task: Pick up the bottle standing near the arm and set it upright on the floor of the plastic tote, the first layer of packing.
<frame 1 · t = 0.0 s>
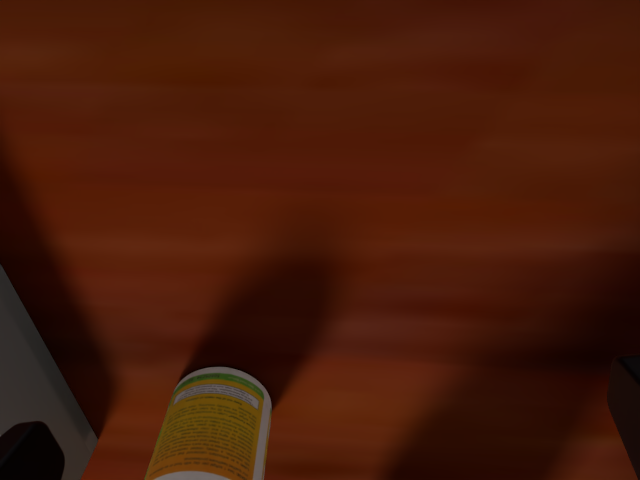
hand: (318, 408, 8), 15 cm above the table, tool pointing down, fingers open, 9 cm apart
supplement bottle: (223, 397, 29), on the table
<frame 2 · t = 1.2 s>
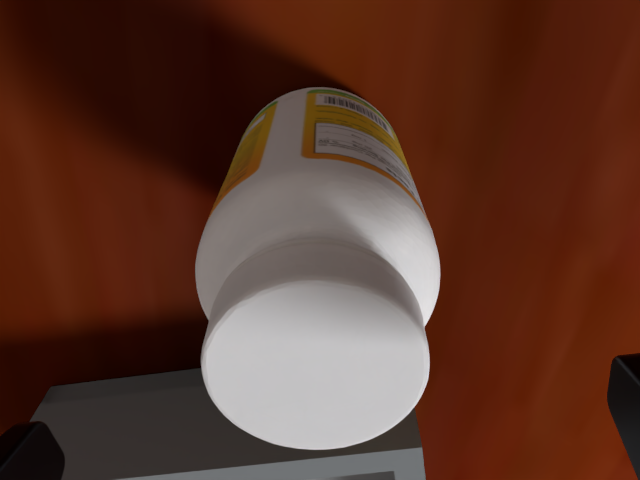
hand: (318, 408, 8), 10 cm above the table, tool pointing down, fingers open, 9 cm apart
supplement bottle: (319, 163, 18), on the table
tote: (258, 474, 25), on the table
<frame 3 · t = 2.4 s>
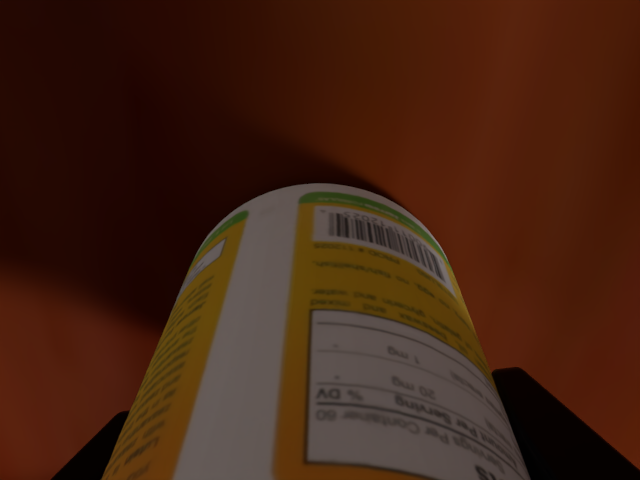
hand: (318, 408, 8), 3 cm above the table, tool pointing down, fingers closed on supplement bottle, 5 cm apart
supplement bottle: (321, 290, 11), on the table, touching gripper
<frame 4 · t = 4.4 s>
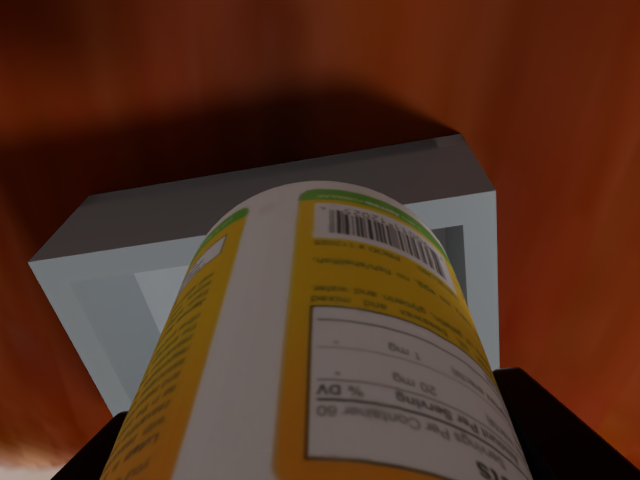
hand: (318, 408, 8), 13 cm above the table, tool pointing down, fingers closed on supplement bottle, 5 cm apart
supplement bottle: (321, 288, 11), point 10 cm above the table, touching gripper
tote: (303, 306, 24), on the table
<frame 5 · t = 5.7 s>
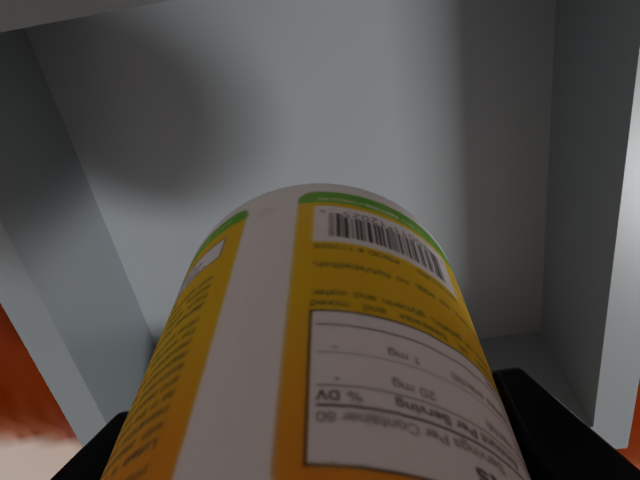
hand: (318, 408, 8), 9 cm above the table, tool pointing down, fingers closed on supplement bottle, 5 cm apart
supplement bottle: (320, 290, 11), point 6 cm above the table, touching gripper
tote: (320, 185, 16), on the table
when the fingers open (5 cm above the table, at t = 6.7 s): supplement bottle drops 1 cm, resting on tote.
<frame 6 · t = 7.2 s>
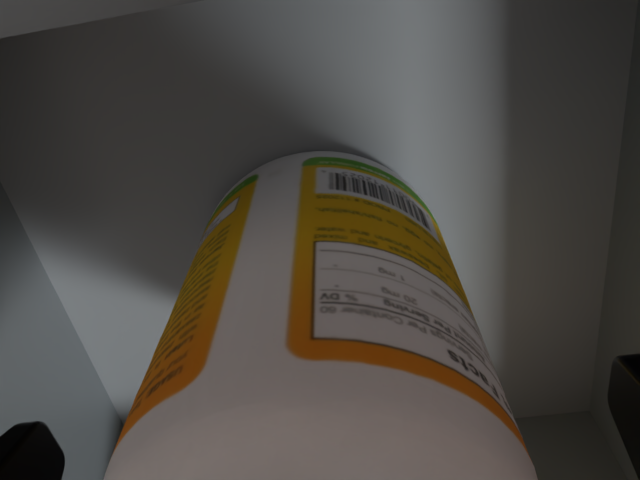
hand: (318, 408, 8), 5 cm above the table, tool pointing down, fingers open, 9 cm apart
supplement bottle: (322, 251, 12), point 1 cm above the table, touching tote
tote: (321, 238, 13), on the table
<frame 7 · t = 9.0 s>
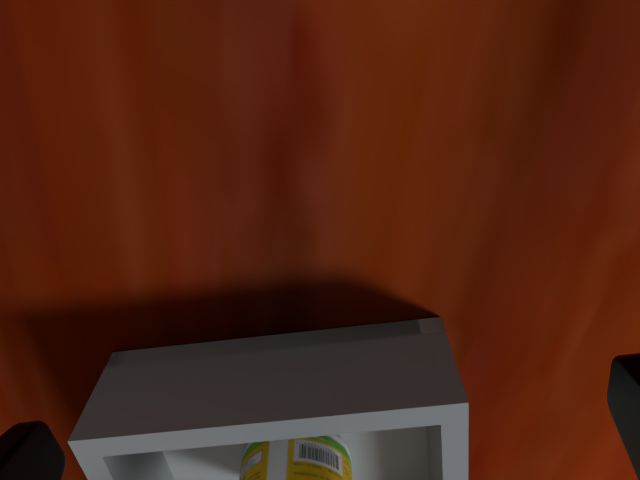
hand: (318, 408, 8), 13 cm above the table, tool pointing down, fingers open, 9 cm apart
supplement bottle: (297, 452, 26), point 1 cm above the table, touching tote
tote: (297, 440, 27), on the table
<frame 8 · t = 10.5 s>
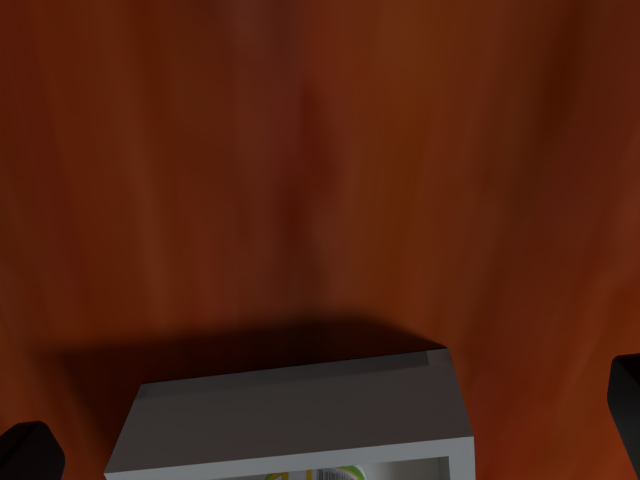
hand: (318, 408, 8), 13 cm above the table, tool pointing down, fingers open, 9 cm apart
supplement bottle: (315, 473, 28), point 1 cm above the table, touching tote
tote: (315, 461, 29), on the table
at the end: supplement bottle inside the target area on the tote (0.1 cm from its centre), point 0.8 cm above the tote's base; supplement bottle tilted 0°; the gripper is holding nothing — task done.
